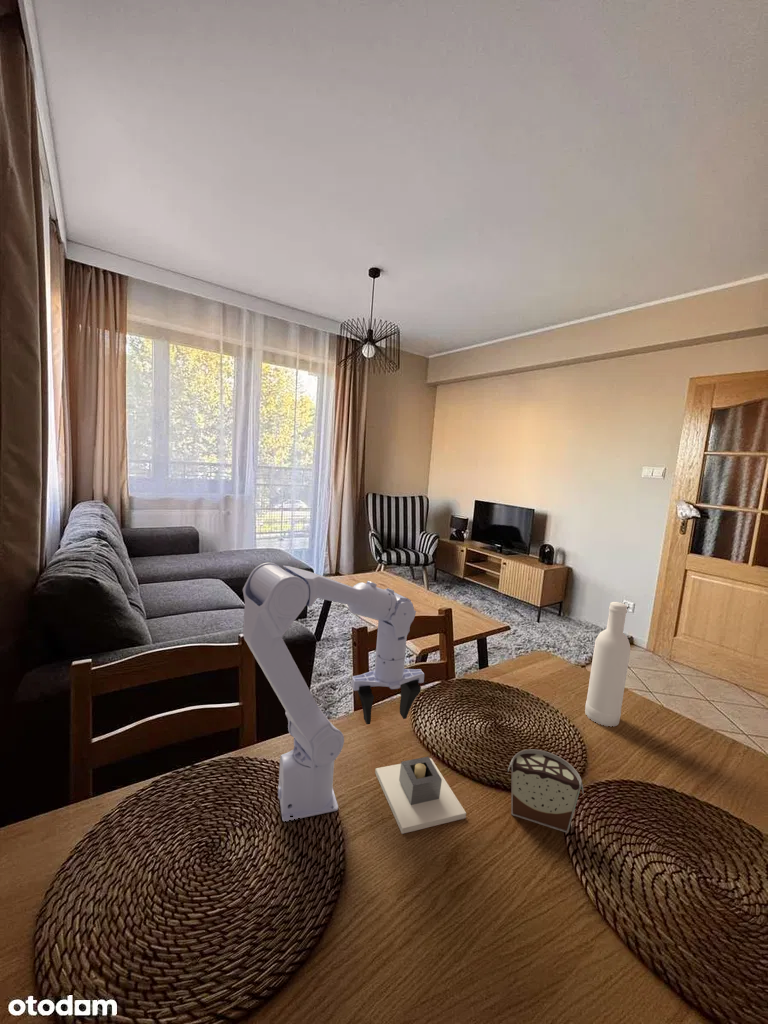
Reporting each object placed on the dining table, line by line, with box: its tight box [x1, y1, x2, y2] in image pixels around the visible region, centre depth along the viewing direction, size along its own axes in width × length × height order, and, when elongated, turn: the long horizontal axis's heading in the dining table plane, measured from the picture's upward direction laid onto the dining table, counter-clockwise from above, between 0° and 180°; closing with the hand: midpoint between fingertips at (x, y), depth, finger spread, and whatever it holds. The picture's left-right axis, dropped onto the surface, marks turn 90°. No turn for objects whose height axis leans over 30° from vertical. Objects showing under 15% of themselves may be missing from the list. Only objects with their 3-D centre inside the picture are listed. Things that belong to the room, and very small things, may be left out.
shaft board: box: [374, 757, 467, 835], centre depth 78 cm, size 12×14×6 cm
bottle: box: [584, 601, 632, 728], centre depth 106 cm, size 8×8×30 cm
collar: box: [399, 756, 442, 805], centre depth 78 cm, size 6×6×4 cm
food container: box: [507, 748, 584, 834], centre depth 76 cm, size 12×6×10 cm, turn 71°
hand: (385, 718), depth 84 cm, fingers open, 7 cm apart
